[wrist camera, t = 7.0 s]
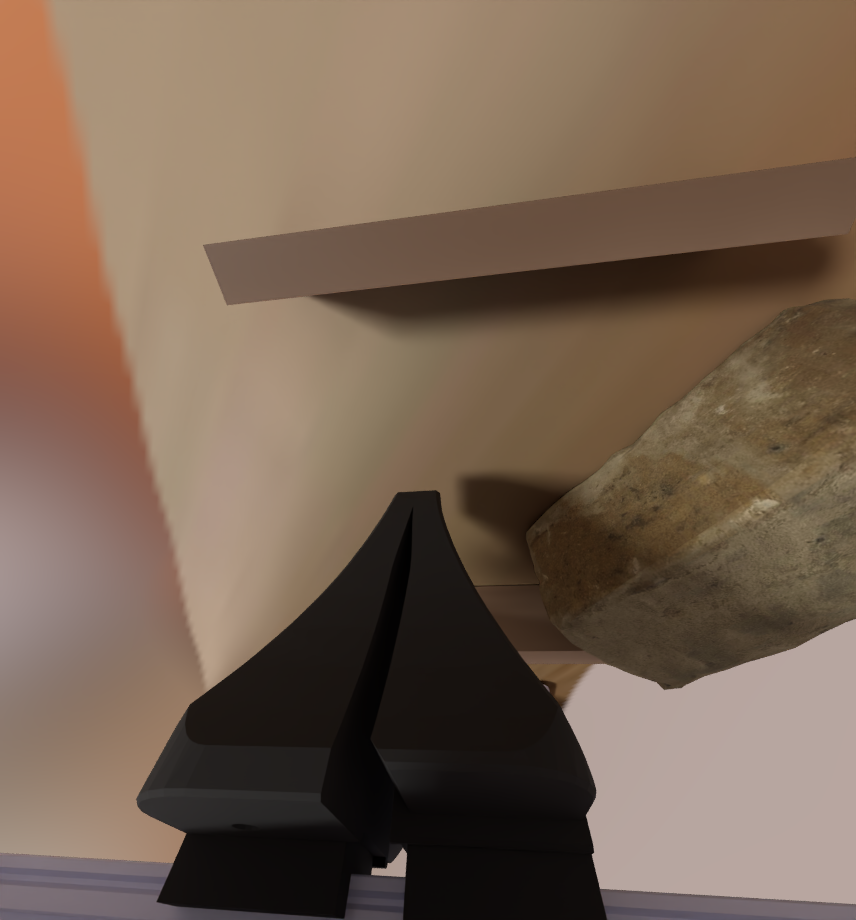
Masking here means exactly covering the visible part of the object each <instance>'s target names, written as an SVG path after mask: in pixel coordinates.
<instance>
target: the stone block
mask: <svg viewBox="0 0 856 920" xmlns="http://www.w3.org/2000/svg"><path fill="white" fill-rule="evenodd" d="M526 540H527V544H528V547H529V550H530V554H531V558H532V562H533V564H534V572H535V574H536V576H537V578H538V580H539V581H540V585H539V590H540V595H541V598H542V601H543V604H544V607H545V609H546V612H547V615H548V618H549V620H550V621H551V622H552V623H553V624H554V625H555V626H556V627H557V629H558V630H559V631H560V632H561V633H562V634H563V635H564V636H565V637H566V638H567V639H568V640H569V641H570V642H571V643H572V644H574V645H576V646H577V647H579V648H580V649H582V650H583V651H585V652H587V653H588V654H591V655H593V656H595V657H596V658H598V659H600V660H602V661H603V662H604V663H605V664H607V665H611V666H614V667H616V668H619V669H621V670H623V671H625V672H628V673H630V674H633V675H636V676H638V677H642V678H645V679H648V680H651V681H654V682H657V683H658V684H659V685H660V686H661V687H662V688H663V689H664V690H666V689H674V688H682V687H683V686H685V685H686V684H689V683H691V682H693V681H695V680H697V679H699V678H701V677H704V676H707V675H710V674H713V673H717V672H720V671H724V670H727V669H730V668H732V667H735V666H738V665H741V664H743V663H746V662H749V661H753V660H757V659H760V658H764V657H767V656H771V655H774V654H777V653H780V652H783V651H787V650H789V649H793V648H796V647H798V646H799V645H801V644H803V643H805V642H807V641H809V640H810V639H812V638H814V637H816V636H818V635H819V634H822V633H824V632H826V631H828V630H830V629H832V628H834V627H837V626H839V625H841V624H843V623H845V622H848V621H850V620H853V619H856V301H855V300H852V299H832V300H823V301H820V302H816V303H813V304H809V305H806V306H799V307H791V308H789V309H786V310H783V311H782V312H781V313H780V315H779V316H778V317H777V318H776V319H775V320H774V321H773V322H772V323H771V324H770V325H768V326H767V327H766V328H764V329H763V330H761V331H760V332H759V333H757V334H756V335H754V336H753V337H752V338H750V339H749V340H747V341H746V342H745V343H743V344H742V345H741V346H740V347H739V348H738V349H737V350H736V351H735V352H734V353H733V354H732V355H731V356H729V357H728V358H727V359H726V360H725V361H724V362H723V363H722V364H721V365H720V366H718V367H717V368H716V369H715V370H714V371H712V372H711V373H710V374H709V375H708V376H707V377H705V378H704V379H703V380H702V381H701V382H700V383H699V384H698V385H696V386H695V387H694V388H693V389H692V390H691V391H690V392H689V393H688V394H687V395H686V396H685V397H684V398H683V399H681V400H680V401H678V402H677V403H675V404H674V405H672V406H671V407H670V408H668V409H667V410H665V411H664V412H662V413H661V414H660V415H659V417H658V418H657V419H656V420H655V421H654V423H653V424H652V425H651V426H650V427H649V429H648V430H647V431H646V432H645V433H644V434H643V435H642V436H641V437H640V438H639V439H638V440H636V441H635V442H634V443H633V444H632V445H631V446H628V447H626V448H624V449H622V450H620V451H618V452H616V453H614V454H613V455H612V456H611V457H610V458H609V459H608V460H607V462H606V463H605V464H604V465H603V466H602V467H601V469H599V470H598V471H597V472H596V473H594V474H593V475H592V476H590V477H589V478H588V479H586V480H585V481H584V482H582V483H581V484H579V485H578V486H576V487H575V488H574V489H572V490H571V491H569V492H568V493H567V494H565V495H564V496H563V497H562V498H560V499H559V500H558V501H557V502H556V503H554V504H553V505H552V506H551V507H550V508H549V509H548V510H547V511H546V512H545V513H544V514H543V515H542V516H541V517H540V518H539V519H538V520H537V521H536V523H535V524H534V525H533V526H532V527H531V528H530V529H529V530H528V531H527V532H526Z"/></svg>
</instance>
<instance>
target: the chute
mask: <svg viewBox="0 0 856 920" xmlns="http://www.w3.org/2000/svg"><path fill="white" fill-rule="evenodd" d="M855 218H856V157H855V158H847V159H840V160H832V161H825V162H817V163H810V164H802V165H795V166H788V167H780V168H773V169H765V170H758V171H750V172H743V173H735V174H728V175H721V176H713V177H706V178H698V179H691V180H683V181H676V182H668V183H661V184H654V185H646V186H639V187H631V188H624V189H616V190H609V191H601V192H594V193H587V194H579V195H572V196H564V197H557V198H549V199H542V200H534V201H527V202H520V203H512V204H505V205H497V206H490V207H482V208H475V209H467V210H460V211H453V212H445V213H438V214H430V215H423V216H415V217H408V218H400V219H393V220H386V221H378V222H371V223H363V224H356V225H348V226H341V227H333V228H326V229H319V230H311V231H304V232H296V233H289V234H281V235H274V236H266V237H259V238H252V239H244V240H237V241H229V242H222V243H214V244H207V245H203V246H204V249H205V251H206V254H207V256H208V259H209V261H210V264H211V266H212V269H213V271H214V274H215V276H216V279H217V281H218V284H219V286H220V289H221V291H222V294H223V296H224V299H225V301H226V304H227V305H233V304H242V303H250V302H259V301H268V300H277V299H285V298H294V297H303V296H311V295H320V294H329V293H338V292H346V291H355V290H364V289H372V288H381V287H390V286H399V285H407V284H416V283H425V282H434V281H442V280H451V279H460V278H468V277H477V276H486V275H495V274H503V273H512V272H521V271H529V270H538V269H547V268H556V267H564V266H573V265H582V264H590V263H599V262H608V261H617V260H625V259H634V258H643V257H652V256H660V255H669V254H678V253H686V252H695V251H704V250H713V249H721V248H730V247H739V246H747V245H756V244H765V243H774V242H782V241H791V240H800V239H808V238H817V237H826V236H835V235H843V234H848V233H849V231H850V228H851V226H852V224H853V222H854V220H855ZM475 588H476V590H477V592H478V593H479V595H480V597H481V598H482V600H483V602H484V603H485V605H486V607H487V608H488V610H489V611H490V613H491V614H492V616H493V617H494V619H495V620H496V621H497V623H498V624H499V626H500V627H501V629H502V630H503V632H504V633H505V635H506V636H507V638H508V639H509V641H510V642H511V643H512V645H513V646H514V647H515V649H516V650H517V651H518V653H519V654H520V655H521V657H522V658H523V660H524V661H525V662H526V664H605V663H604V662H603V661H602V660H600V659H598V658H596V657H595V656H593V655H591V654H588V653H587V652H585V651H583V650H582V649H580V648H579V647H577V646H576V645H574V644H572V643H571V642H570V641H569V640H568V639H567V638H566V637H565V636H564V635H563V634H562V633H561V632H560V631H559V630H558V629H557V627H556V626H555V625H554V624H553V623H552V622H551V621H550V620H549V618H548V615H547V612H546V609H545V607H544V604H543V601H542V598H541V595H540V590H539V585H519V586H480V587H475Z"/></svg>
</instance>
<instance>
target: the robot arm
mask: <svg viewBox="0 0 856 920" xmlns="http://www.w3.org/2000/svg"><path fill="white" fill-rule="evenodd" d="M595 798H596V787H595V784H594V780H593V778H592V775H591V772H590V769H589V766H588V764H587V761H586V758H585V756H584V754H583V751H582V749H581V747H580V745H579V743H578V741H577V739H576V736H575V734H574V732H573V730H572V728H571V726H570V724H569V723H568V721H567V719H566V717H565V715H564V713H563V711H562V709H561V707H560V705H559V704H558V702H557V701H556V700H555V698H554V697H553V696H552V695H551V694H550V692H549V687H548V686H546V685H544V684H542V683H541V681H540V680H539V679H538V678H537V676H536V675H535V674H534V672H533V671H532V670H531V669H530V667H529V666H528V665H527V664H526V662H525V661H524V660H523V658H522V657H521V655H520V654H519V653H518V651H517V650H516V649H515V647H514V646H513V645H512V643H511V642H510V641H509V639H508V638H507V636H506V635H505V633H504V632H503V630H502V629H501V627H500V626H499V624H498V623H497V621H496V620H495V619H494V617H493V616H492V614H491V613H490V611H489V610H488V608H487V607H486V605H485V603H484V602H483V600H482V598H481V597H480V595H479V593H478V592H477V590H476V588H475V586H474V585H473V583H472V581H471V579H470V577H469V576H468V574H467V572H466V570H465V568H464V566H463V564H462V562H461V560H460V558H459V556H458V553H457V551H456V549H455V547H454V544H453V542H452V539H451V537H450V534H449V532H448V529H447V526H446V523H445V520H444V517H443V513H442V507H441V498H440V493H439V492H438V491H436V490H434V491H416V492H398V493H397V494H396V495H395V497H394V498H393V500H392V502H391V503H390V505H389V507H388V508H387V510H386V512H385V513H384V515H383V516H382V518H381V520H380V521H379V523H378V524H377V526H376V527H375V528H374V530H373V531H372V533H371V534H370V536H369V537H368V539H367V540H366V541H365V543H364V544H363V545H362V547H361V548H360V549H359V551H358V552H357V553H356V554H355V556H354V557H353V558H352V560H351V561H350V562H349V563H348V565H347V566H346V567H345V568H344V570H343V571H342V572H341V573H340V574H339V575H338V577H337V578H336V579H335V580H334V581H333V582H332V583H331V584H330V585H329V587H328V588H327V589H326V590H325V591H324V592H323V593H322V594H321V595H320V596H319V597H318V598H317V599H316V600H315V601H314V602H313V603H312V604H311V605H310V606H309V607H308V608H307V609H306V610H305V611H304V612H303V613H302V614H301V615H300V616H299V617H298V618H297V619H296V620H295V621H294V622H293V623H291V624H290V625H289V626H288V627H287V628H286V629H285V630H284V631H282V632H281V633H280V634H279V635H278V636H277V637H275V638H274V639H273V640H272V641H271V642H270V643H269V644H267V645H266V646H265V647H264V648H263V649H262V650H260V651H259V652H258V653H257V654H256V655H254V656H253V657H252V658H251V659H250V660H248V661H247V662H246V663H245V664H243V665H242V666H241V667H240V668H238V669H237V670H236V671H234V672H233V673H232V674H230V675H229V676H228V677H226V678H225V679H224V680H222V681H221V682H220V683H218V684H217V685H216V686H214V687H213V688H212V689H210V690H209V691H208V692H206V693H205V694H204V695H202V696H201V697H200V698H198V699H197V700H195V701H194V702H193V703H192V704H190V705H189V707H188V709H187V710H186V712H185V714H184V715H183V717H182V718H181V720H180V722H179V723H178V725H177V726H176V728H175V730H174V732H173V733H172V735H171V737H170V739H169V741H168V742H167V744H166V746H165V748H164V750H163V752H162V753H161V755H160V757H159V759H158V761H157V762H156V764H155V766H154V768H153V769H152V771H151V773H150V775H149V777H148V778H147V780H146V782H145V784H144V786H143V788H142V789H141V791H140V793H139V795H138V797H137V799H136V800H137V805H138V807H139V809H140V810H141V811H142V812H144V813H145V814H147V815H149V816H151V817H153V818H155V819H157V820H159V821H161V822H163V823H165V824H168V825H170V826H172V827H174V828H176V829H178V830H180V831H183V832H185V833H187V834H186V836H185V838H184V841H183V843H182V845H181V847H180V850H179V852H178V854H177V856H176V859H175V861H174V863H160V862H159V863H158V862H143V861H127V860H109V859H93V858H77V857H60V856H44V855H27V854H9V853H0V920H856V904H841V903H825V902H809V901H792V900H791V901H790V900H775V899H758V898H742V897H724V896H708V895H691V894H676V893H659V892H642V891H626V890H609V889H600V887H599V883H598V879H597V875H596V872H595V867H594V862H593V858H592V854H593V853H594V848H593V843H592V838H591V834H590V830H589V826H588V822H587V818H586V814H587V812H588V811H589V809H590V807H591V806H592V804H593V802H594V800H595ZM402 848H404V850H405V851H406V853H407V863H406V877H392V876H375V875H371V871H372V868H385V869H386V868H387V863H391V862H392V861H393V860H394V859H395V858H396V857H397V855H398V854H399V853H400V851H401V850H402Z"/></svg>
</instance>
